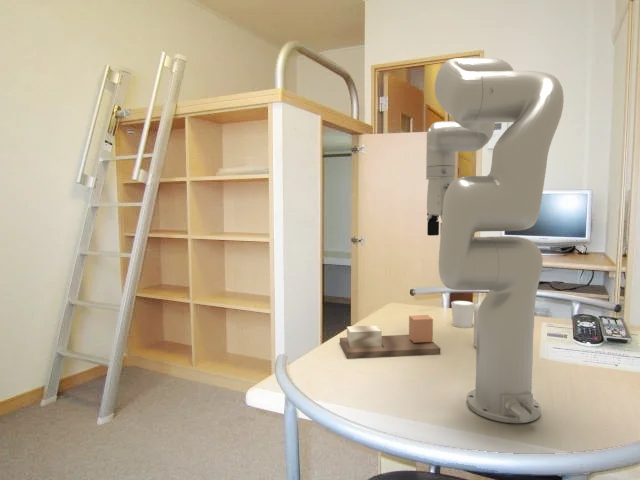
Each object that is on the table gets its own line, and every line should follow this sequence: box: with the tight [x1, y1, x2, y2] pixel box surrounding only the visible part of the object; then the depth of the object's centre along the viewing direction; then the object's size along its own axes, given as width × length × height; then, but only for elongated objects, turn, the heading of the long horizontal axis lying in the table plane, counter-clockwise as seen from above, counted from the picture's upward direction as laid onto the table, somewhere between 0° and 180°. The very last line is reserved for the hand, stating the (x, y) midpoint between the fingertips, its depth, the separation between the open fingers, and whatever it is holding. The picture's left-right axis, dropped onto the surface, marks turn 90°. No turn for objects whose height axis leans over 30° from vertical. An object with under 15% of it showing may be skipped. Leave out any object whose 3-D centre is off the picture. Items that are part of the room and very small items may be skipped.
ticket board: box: [339, 324, 441, 360], centre depth 115 cm, size 24×12×6 cm, turn 96°
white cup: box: [450, 300, 476, 329], centre depth 136 cm, size 7×7×7 cm
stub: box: [408, 314, 434, 343], centre depth 115 cm, size 5×4×6 cm
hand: (439, 236), depth 121 cm, fingers open, 9 cm apart
